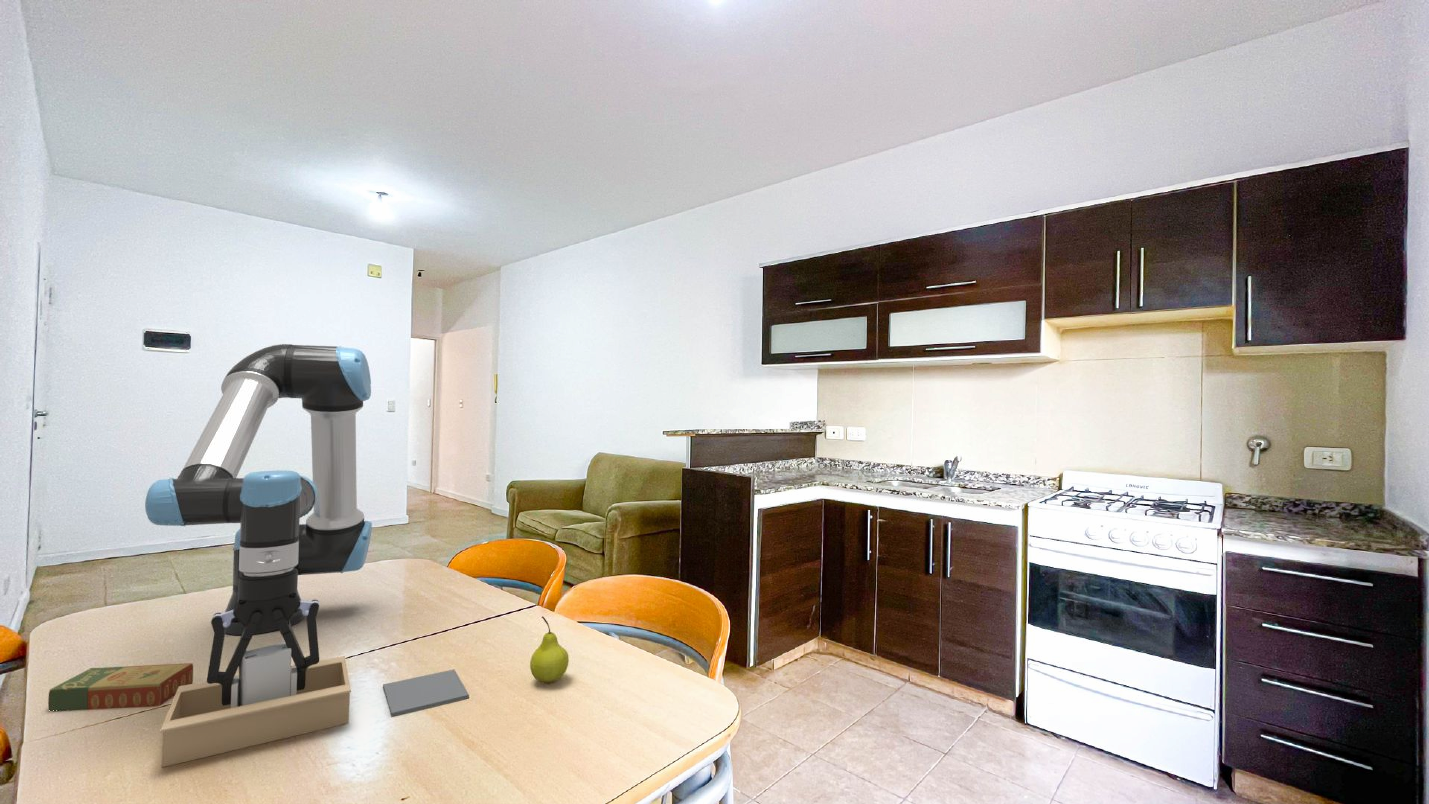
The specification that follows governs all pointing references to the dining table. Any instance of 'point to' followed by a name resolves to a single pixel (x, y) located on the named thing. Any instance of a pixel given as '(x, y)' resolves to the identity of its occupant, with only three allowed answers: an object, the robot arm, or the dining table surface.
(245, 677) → the skincare box
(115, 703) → the carton
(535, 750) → the dining table surface
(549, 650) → the fruit
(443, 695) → the mat
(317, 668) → the tray
